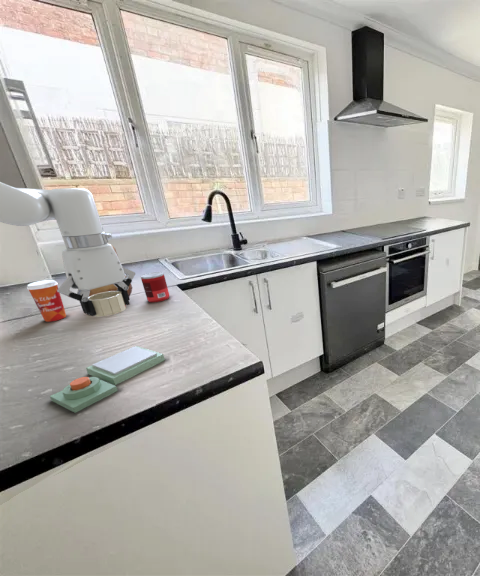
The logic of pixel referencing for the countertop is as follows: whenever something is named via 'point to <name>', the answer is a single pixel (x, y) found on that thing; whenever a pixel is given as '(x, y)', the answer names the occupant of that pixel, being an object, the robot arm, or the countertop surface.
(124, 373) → the scale
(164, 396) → the countertop surface
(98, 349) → the countertop surface
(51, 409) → the countertop surface
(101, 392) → the pad
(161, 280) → the canned food
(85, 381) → the button
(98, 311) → the bowl
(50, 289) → the paper cup
